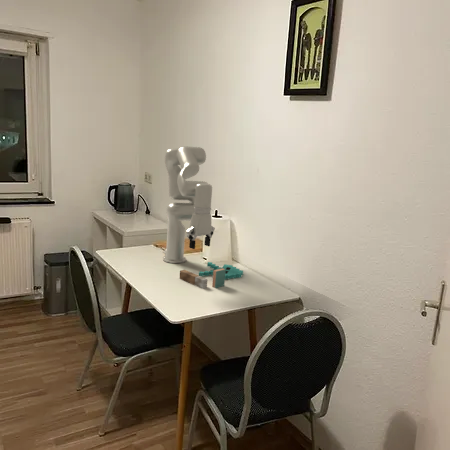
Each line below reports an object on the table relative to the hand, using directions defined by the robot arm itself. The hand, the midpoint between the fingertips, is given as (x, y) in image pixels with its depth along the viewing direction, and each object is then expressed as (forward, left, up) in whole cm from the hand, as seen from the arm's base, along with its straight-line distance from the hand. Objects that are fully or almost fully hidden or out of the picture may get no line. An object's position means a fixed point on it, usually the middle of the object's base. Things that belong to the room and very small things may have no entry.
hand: (199, 247), depth 211 cm
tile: (+9, +6, -18) cm, 20 cm away
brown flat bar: (-1, -1, -18) cm, 18 cm away
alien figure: (-4, +22, -18) cm, 29 cm away
